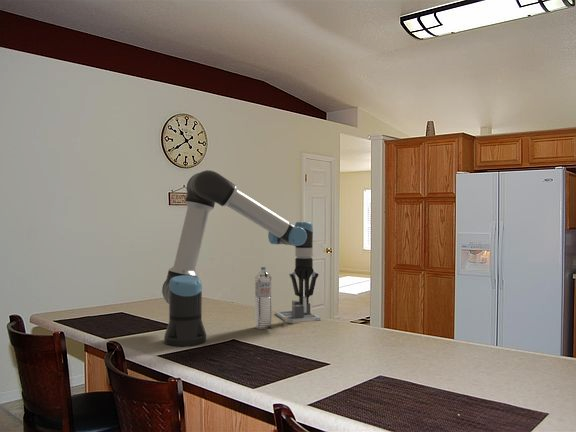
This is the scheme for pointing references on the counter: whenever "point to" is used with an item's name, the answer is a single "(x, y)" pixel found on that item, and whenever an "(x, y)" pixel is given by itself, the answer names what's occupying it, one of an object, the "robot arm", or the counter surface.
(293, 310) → the dark grey rectangular block
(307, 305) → the tab mid
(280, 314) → the switch bank
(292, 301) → the tab far
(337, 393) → the counter surface
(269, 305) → the water bottle
